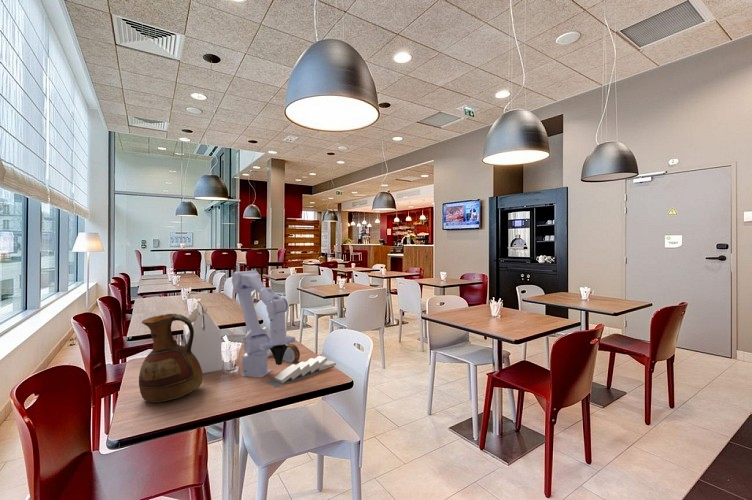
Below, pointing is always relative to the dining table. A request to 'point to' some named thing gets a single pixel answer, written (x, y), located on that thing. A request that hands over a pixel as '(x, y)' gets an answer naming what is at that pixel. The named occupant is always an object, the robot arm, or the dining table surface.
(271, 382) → the mat
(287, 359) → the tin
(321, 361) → the domino
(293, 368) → the domino
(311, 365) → the domino
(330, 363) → the domino
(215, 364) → the gable box
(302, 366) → the domino
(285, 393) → the dining table surface
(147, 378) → the ceramic pitcher
